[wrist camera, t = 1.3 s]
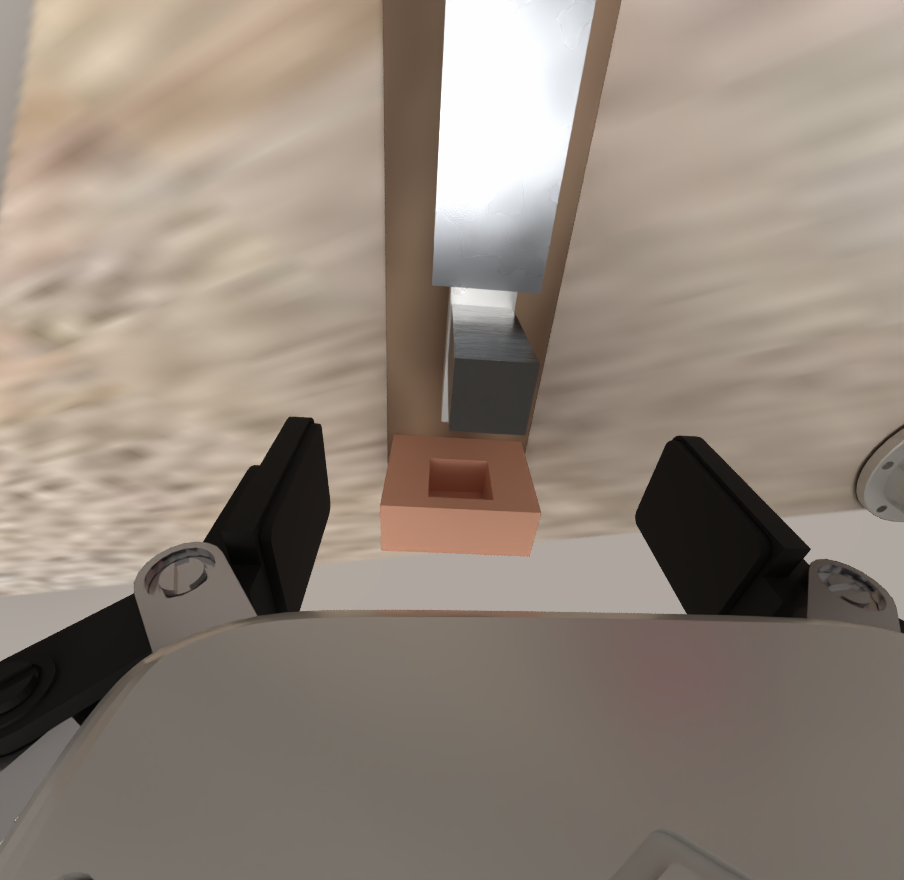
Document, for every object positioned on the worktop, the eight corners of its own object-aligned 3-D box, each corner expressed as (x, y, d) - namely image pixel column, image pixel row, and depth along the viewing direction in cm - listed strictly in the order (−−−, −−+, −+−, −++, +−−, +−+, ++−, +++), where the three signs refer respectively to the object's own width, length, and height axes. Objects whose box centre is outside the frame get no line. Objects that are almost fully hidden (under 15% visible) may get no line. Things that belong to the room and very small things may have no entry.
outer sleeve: (562, -36, 18) (623, -143, 12) (516, 263, 25) (540, 293, 19) (450, -50, 18) (453, -166, 12) (435, 256, 25) (431, 285, 19)
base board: (615, -16, 20) (627, -28, 19) (516, 470, 36) (518, 481, 35) (386, -43, 19) (382, -58, 18) (389, 463, 35) (387, 474, 34)
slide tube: (553, -31, 16) (673, -251, 8) (491, 399, 27) (512, 506, 18) (472, -40, 16) (503, -277, 8) (441, 396, 26) (440, 502, 18)
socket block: (521, 441, 32) (541, 513, 26) (512, 481, 35) (529, 556, 28) (393, 434, 32) (380, 505, 25) (393, 474, 34) (381, 550, 27)
